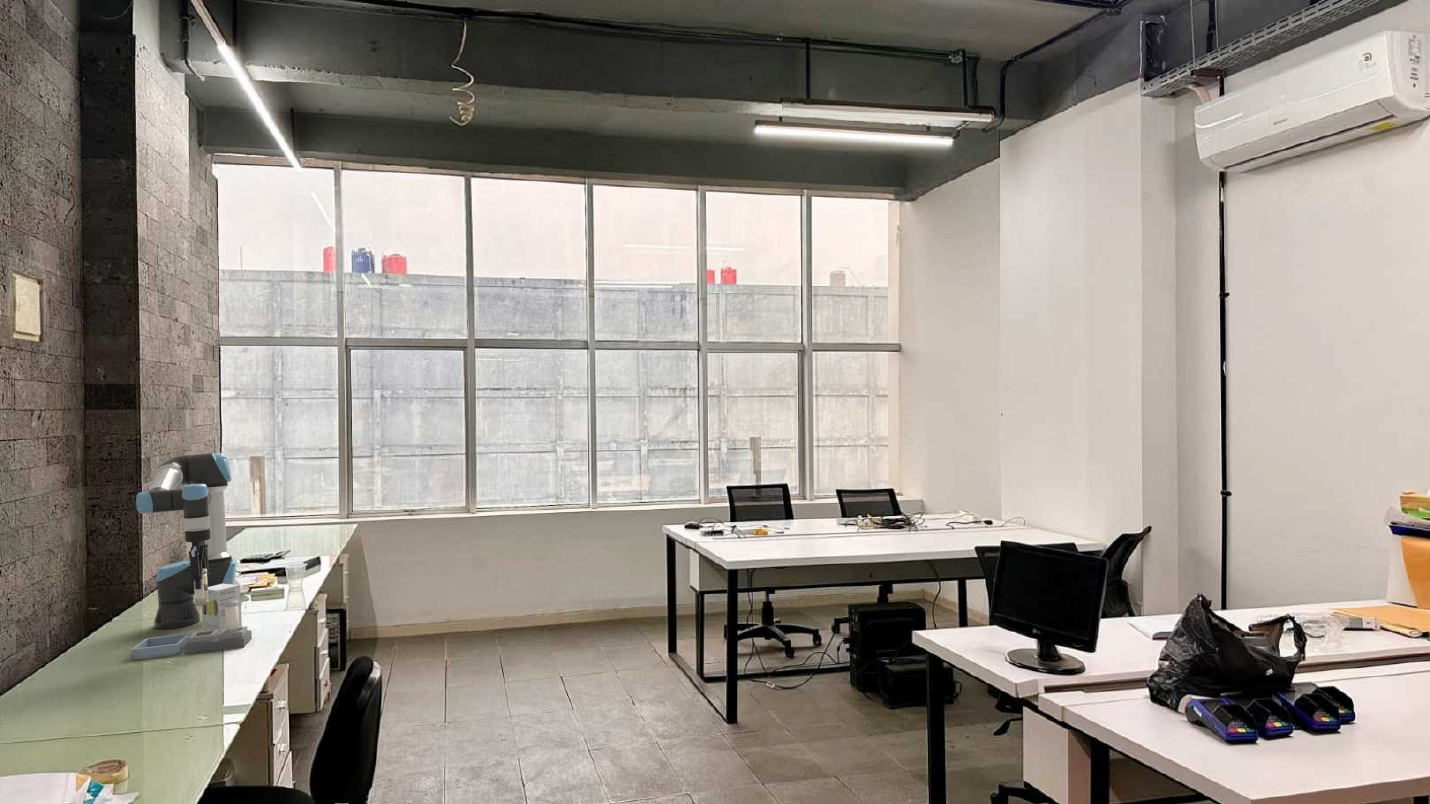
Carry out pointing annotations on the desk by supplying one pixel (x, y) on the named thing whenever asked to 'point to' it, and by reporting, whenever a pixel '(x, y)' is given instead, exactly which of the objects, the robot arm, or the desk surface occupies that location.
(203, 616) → the supplement box
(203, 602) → the fuse
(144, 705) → the desk surface
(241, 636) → the fuse holder
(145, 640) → the parts tray
